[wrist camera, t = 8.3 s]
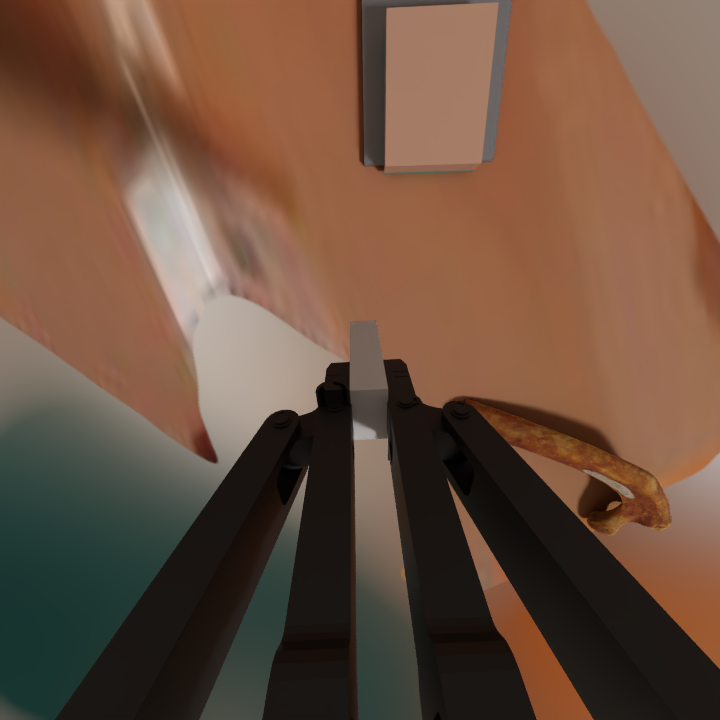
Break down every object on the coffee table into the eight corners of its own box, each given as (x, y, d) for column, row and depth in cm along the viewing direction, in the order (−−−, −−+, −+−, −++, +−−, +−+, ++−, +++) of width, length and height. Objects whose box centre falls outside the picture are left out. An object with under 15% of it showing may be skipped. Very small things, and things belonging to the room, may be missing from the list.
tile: (385, 166, 26) (386, 7, 23) (383, 174, 29) (384, 31, 25) (481, 163, 26) (498, 2, 22) (472, 171, 28) (486, 27, 25)
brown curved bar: (439, 422, 39) (487, 434, 30) (467, 373, 41) (520, 370, 31) (599, 535, 44) (685, 578, 34) (618, 487, 46) (705, 514, 36)
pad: (364, 166, 29) (364, 164, 28) (361, -6, 25) (361, -12, 24) (491, 161, 29) (493, 159, 28) (510, -14, 24) (514, -21, 24)
